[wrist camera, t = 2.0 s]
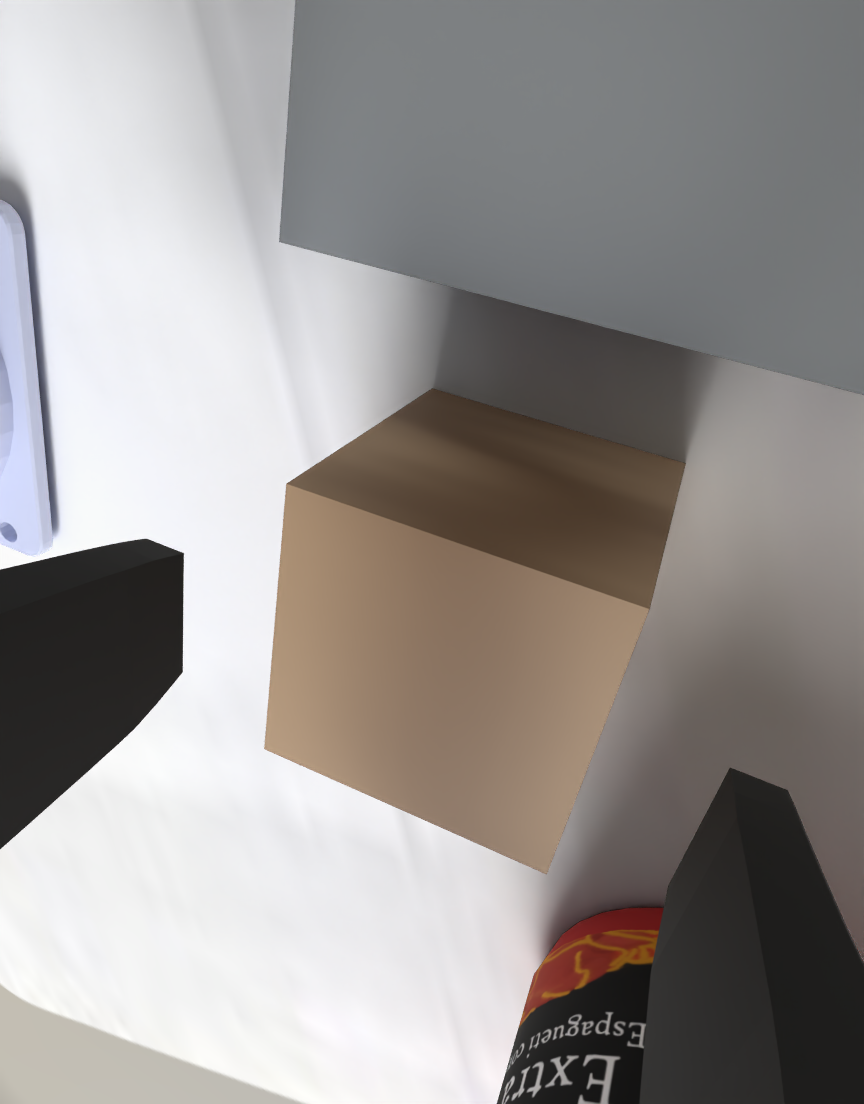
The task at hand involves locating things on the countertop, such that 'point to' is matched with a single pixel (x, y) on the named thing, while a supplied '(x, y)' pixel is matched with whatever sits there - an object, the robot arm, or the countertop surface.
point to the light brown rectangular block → (464, 614)
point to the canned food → (587, 1015)
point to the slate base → (598, 163)
